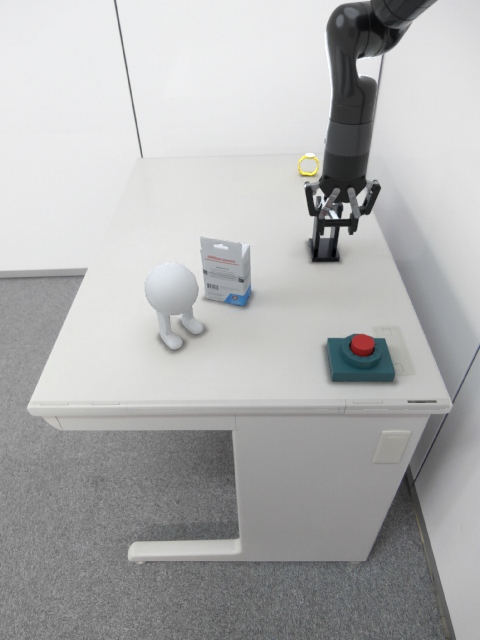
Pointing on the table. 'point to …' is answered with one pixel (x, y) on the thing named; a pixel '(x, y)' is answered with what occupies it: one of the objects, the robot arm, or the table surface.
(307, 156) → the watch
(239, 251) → the ink box
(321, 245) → the bracket
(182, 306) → the toy character
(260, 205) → the table surface
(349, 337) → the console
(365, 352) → the stop button
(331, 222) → the lever
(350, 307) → the table surface
